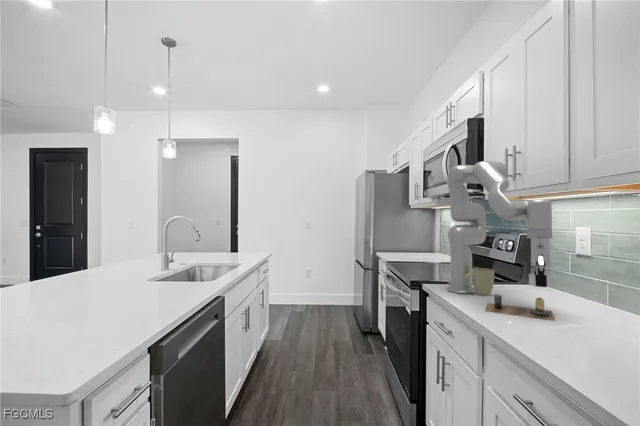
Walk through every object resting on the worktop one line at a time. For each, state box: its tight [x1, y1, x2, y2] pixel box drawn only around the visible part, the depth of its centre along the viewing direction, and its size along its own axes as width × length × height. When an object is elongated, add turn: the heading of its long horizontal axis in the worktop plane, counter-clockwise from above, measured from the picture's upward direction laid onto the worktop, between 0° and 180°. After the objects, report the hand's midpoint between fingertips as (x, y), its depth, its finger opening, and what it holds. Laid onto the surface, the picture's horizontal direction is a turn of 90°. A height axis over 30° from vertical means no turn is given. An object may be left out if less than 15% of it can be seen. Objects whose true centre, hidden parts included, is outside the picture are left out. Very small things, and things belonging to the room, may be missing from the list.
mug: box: [465, 267, 495, 297], centre depth 144 cm, size 11×10×12 cm
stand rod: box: [493, 294, 503, 309], centre depth 122 cm, size 2×2×5 cm
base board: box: [484, 302, 556, 322], centre depth 119 cm, size 21×13×1 cm, turn 58°
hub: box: [530, 297, 550, 316], centre depth 115 cm, size 6×6×6 cm
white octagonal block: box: [528, 273, 554, 288], centre depth 115 cm, size 7×7×4 cm
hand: (540, 284), depth 115 cm, fingers closed on white octagonal block, 6 cm apart
